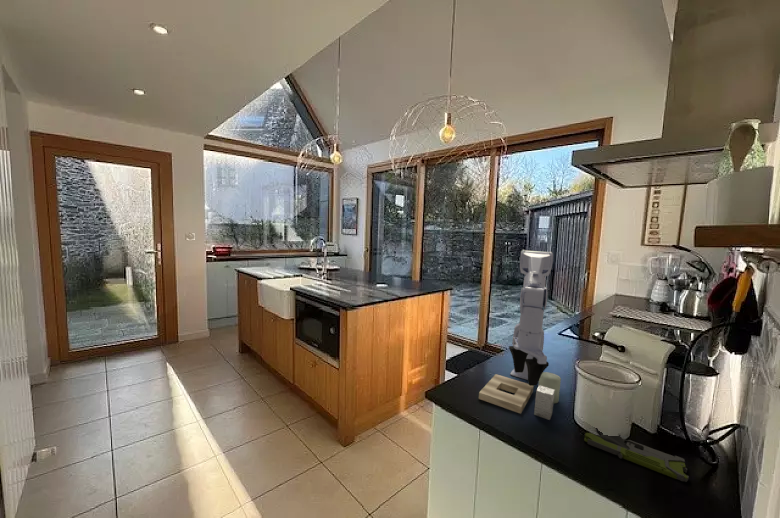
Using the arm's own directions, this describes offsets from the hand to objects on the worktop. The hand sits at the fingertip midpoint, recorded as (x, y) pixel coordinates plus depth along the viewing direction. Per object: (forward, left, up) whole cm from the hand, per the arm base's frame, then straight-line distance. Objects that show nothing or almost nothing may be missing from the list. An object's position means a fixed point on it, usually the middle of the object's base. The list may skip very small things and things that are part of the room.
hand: (525, 378), depth 91 cm
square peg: (-2, +5, -10) cm, 11 cm away
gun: (-1, +25, -10) cm, 27 cm away
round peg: (-13, +5, -10) cm, 17 cm away
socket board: (-6, -6, -10) cm, 13 cm away
